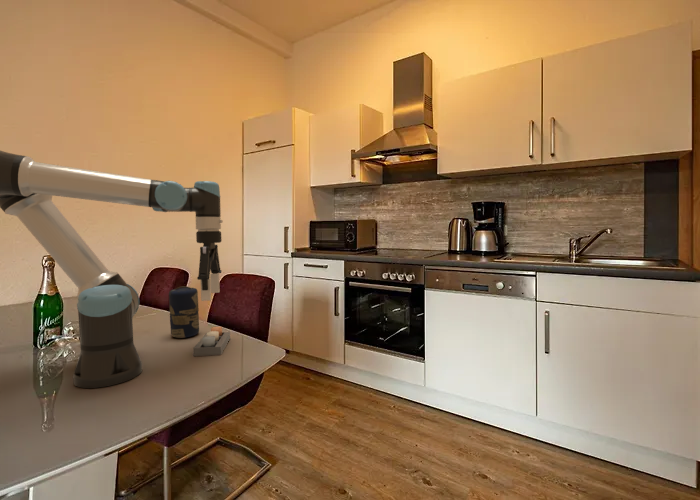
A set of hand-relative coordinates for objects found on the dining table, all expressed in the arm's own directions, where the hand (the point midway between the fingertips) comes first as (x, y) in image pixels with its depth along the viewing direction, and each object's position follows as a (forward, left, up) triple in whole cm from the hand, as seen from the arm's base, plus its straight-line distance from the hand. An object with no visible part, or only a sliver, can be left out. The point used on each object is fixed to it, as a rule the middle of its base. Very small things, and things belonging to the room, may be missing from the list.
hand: (211, 296), depth 119 cm
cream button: (0, 0, -14) cm, 14 cm away
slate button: (-6, 0, -14) cm, 15 cm away
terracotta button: (+5, 0, -14) cm, 15 cm away
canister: (+15, +13, -17) cm, 26 cm away
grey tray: (0, 0, -17) cm, 17 cm away
